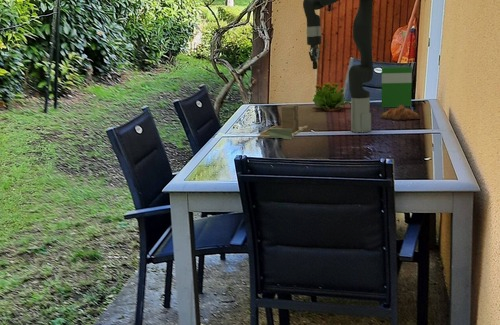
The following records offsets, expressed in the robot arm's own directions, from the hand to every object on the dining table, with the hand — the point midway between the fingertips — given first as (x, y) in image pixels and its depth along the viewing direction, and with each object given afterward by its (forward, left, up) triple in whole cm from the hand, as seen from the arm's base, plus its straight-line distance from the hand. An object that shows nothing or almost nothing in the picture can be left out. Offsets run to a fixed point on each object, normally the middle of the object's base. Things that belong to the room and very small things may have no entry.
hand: (315, 69), depth 319 cm
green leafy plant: (+34, -40, -31) cm, 61 cm away
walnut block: (-6, +22, -29) cm, 37 cm away
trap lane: (-4, +25, -30) cm, 39 cm away
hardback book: (+14, -74, -31) cm, 81 cm away
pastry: (-18, -44, -31) cm, 57 cm away
